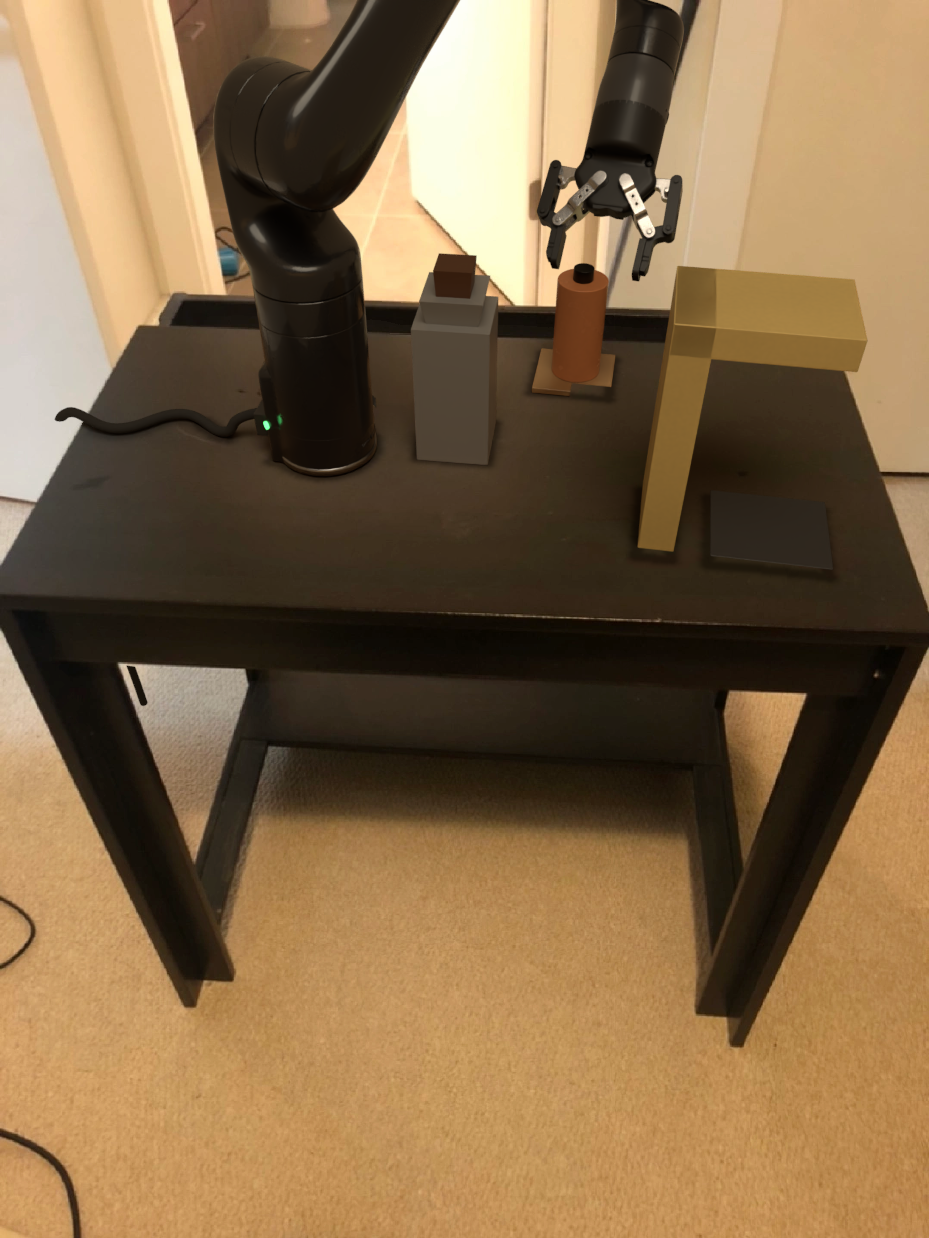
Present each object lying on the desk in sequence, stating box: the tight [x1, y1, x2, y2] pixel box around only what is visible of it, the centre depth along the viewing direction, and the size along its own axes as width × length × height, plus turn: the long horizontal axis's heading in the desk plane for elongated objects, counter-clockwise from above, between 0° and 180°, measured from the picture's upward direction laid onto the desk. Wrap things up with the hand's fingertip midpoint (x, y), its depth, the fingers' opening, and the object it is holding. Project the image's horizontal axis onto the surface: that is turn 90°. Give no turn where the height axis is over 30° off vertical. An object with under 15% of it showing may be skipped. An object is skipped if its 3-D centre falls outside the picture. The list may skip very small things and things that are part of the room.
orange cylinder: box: [551, 262, 610, 382], centre depth 99 cm, size 5×5×11 cm
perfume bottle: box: [410, 252, 499, 466], centre depth 89 cm, size 7×7×18 cm
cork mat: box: [531, 348, 616, 397], centre depth 103 cm, size 8×8×1 cm
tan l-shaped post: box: [637, 265, 868, 571], centre depth 78 cm, size 16×9×22 cm, turn 80°
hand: (594, 272), depth 101 cm, fingers open, 8 cm apart
